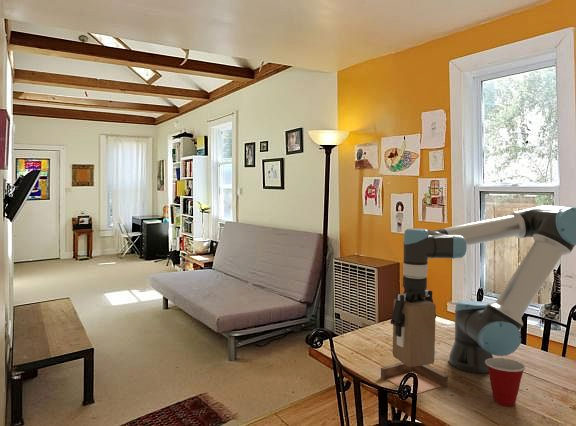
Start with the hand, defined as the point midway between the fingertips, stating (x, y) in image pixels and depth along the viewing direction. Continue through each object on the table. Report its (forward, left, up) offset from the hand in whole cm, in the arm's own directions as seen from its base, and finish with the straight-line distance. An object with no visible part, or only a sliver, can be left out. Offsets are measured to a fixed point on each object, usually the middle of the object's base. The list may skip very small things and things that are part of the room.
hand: (413, 342), depth 135 cm
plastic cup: (-24, +11, -14) cm, 30 cm away
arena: (0, 0, -14) cm, 14 cm away
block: (0, 0, -6) cm, 6 cm away
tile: (0, 0, -14) cm, 14 cm away
